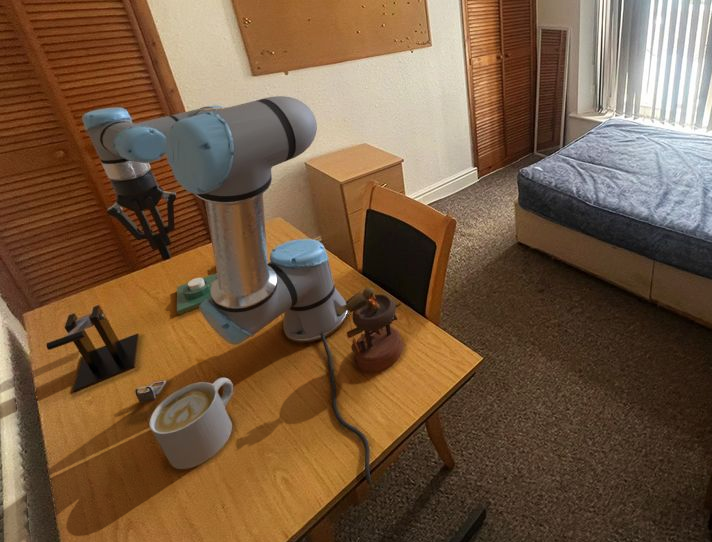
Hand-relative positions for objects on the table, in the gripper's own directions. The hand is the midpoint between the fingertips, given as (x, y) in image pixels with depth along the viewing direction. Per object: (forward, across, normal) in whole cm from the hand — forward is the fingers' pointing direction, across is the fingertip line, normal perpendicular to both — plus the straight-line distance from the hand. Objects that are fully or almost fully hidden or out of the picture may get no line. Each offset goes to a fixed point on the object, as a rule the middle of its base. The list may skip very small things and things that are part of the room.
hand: (166, 256), depth 103 cm
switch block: (+17, -3, -4) cm, 18 cm away
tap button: (+14, -3, -4) cm, 14 cm away
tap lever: (+3, +16, +16) cm, 22 cm away
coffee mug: (+17, -2, +44) cm, 48 cm away
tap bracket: (+17, +15, +10) cm, 25 cm away
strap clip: (+17, +8, +28) cm, 34 cm away
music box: (+17, -36, +47) cm, 62 cm away
